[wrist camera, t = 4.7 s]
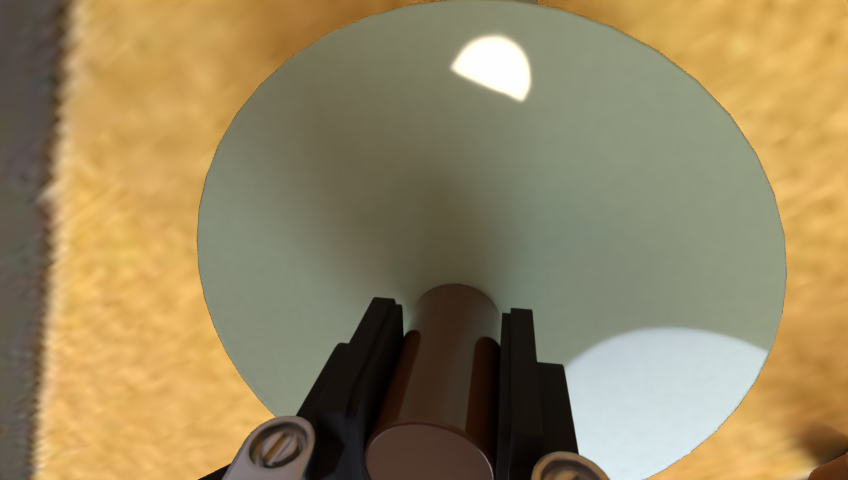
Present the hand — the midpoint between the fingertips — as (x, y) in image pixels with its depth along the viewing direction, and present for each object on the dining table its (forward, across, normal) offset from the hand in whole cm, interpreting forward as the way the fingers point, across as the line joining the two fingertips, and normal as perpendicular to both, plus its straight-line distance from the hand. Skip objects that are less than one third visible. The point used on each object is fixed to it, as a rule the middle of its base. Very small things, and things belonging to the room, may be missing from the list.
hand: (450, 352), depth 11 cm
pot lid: (+2, 0, 0) cm, 2 cm away
